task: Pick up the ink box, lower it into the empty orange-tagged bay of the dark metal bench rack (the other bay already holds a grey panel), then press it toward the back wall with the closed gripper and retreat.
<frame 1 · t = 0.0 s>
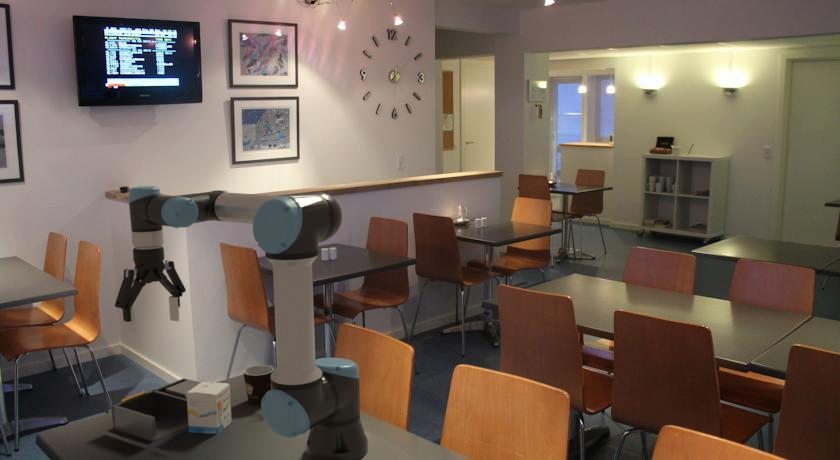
hand: (153, 326, 192), 28 cm above the table, fingers open, 13 cm apart
coffee mug: (261, 405, 211), on the table
installed panel: (188, 410, 206), resting on rack
ink box: (210, 430, 195), on the table
rack: (170, 421, 200), on the table
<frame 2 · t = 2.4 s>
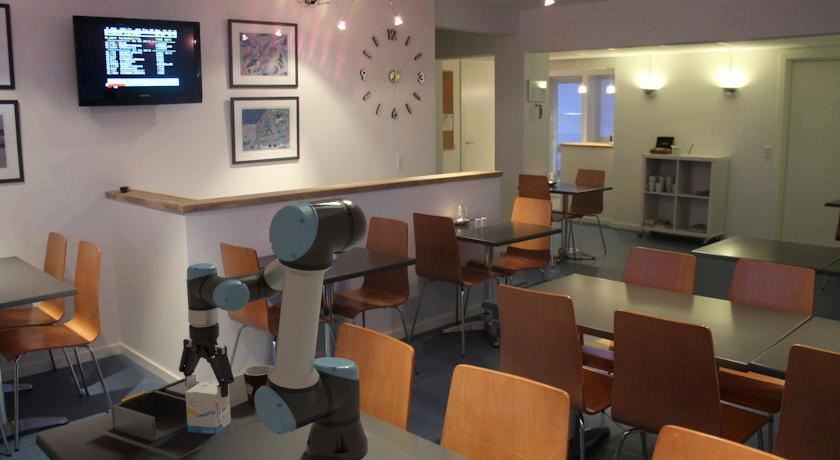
hand: (207, 403, 194), 7 cm above the table, fingers open, 11 cm apart
ink box: (210, 429, 195), on the table, touching gripper, rack
everything else where it was.
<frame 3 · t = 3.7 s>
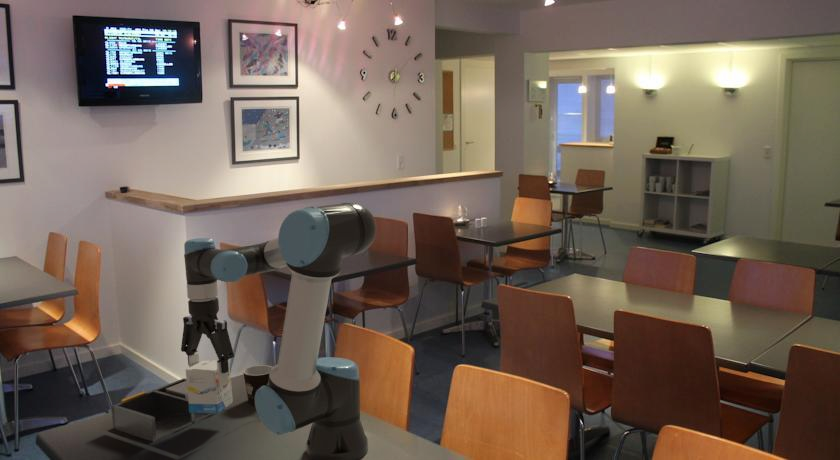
hand: (209, 381, 193), 13 cm above the table, fingers closed on ink box, 10 cm apart
ink box: (211, 408, 194), point 6 cm above the table, touching gripper
everything else where it was.
when the fingers open (9 cm above the table, at t = 7.4 s): ink box drops 1 cm, resting on rack.
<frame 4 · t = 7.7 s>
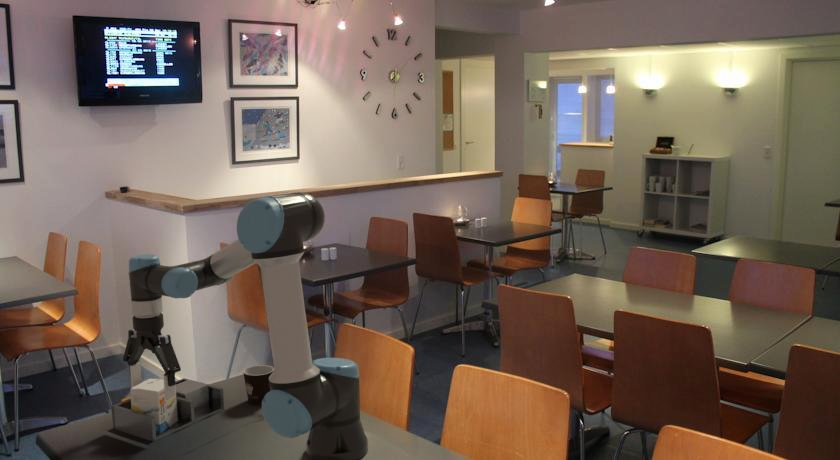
hand: (153, 392, 194), 10 cm above the table, fingers open, 13 cm apart
ink box: (156, 426, 196), point 1 cm above the table, touching rack
everything else where it was.
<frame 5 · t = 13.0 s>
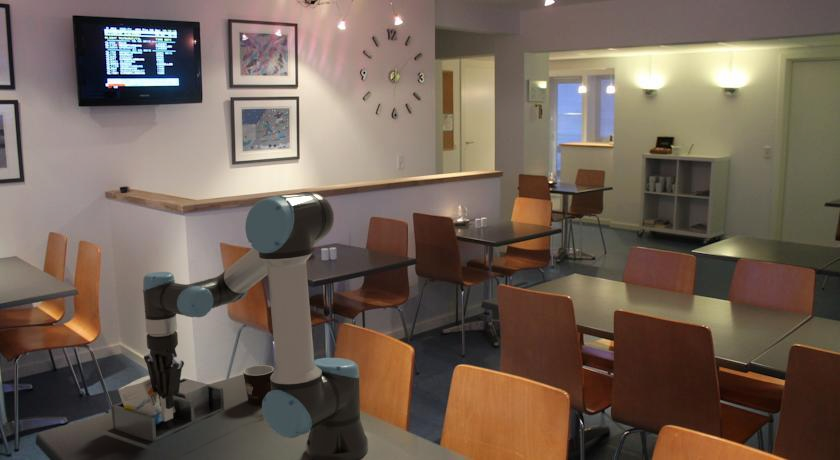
hand: (167, 419, 193), 4 cm above the table, fingers closed
ink box: (155, 421, 195), point 2 cm above the table, touching gripper, hand, rack
everything else where it was.
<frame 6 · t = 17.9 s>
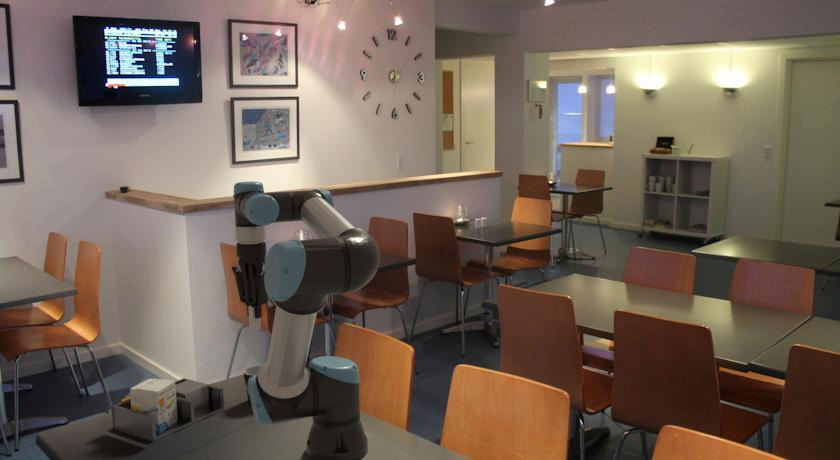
hand: (255, 329, 194), 26 cm above the table, fingers closed
ink box: (155, 426, 196), point 1 cm above the table, touching rack
everything else where it was.
at the end: ink box inside the target area on the rack (0.6 cm from its centre), point 0.6 cm above the rack's base; ink box tilted 0°; the gripper is holding nothing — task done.
